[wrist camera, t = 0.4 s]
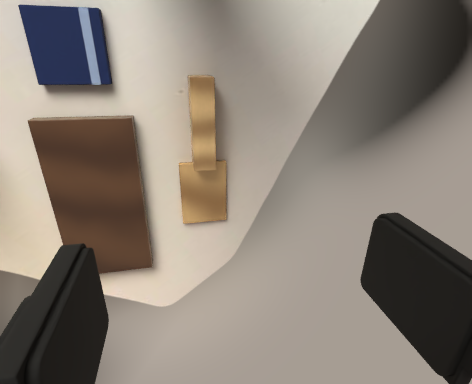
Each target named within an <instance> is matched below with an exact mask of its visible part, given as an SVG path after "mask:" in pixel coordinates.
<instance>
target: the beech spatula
mask: <svg viewBox="0 0 472 384" xmlns="http://www.w3.org/2000/svg"><path fill="white" fill-rule="evenodd" d="M188 90H189V108H190V127H191V145H192V162H189V163H179V173H180V186H181V199H182V213H183V223H184V224H186V223H196V222H207V221H217V220H226V161H216V137H215V83H214V77H212V76H210V75H188Z"/></svg>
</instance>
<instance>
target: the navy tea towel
mask: <svg viewBox="0 0 472 384" xmlns="http://www.w3.org/2000/svg"><path fill="white" fill-rule="evenodd" d="M18 6H19V10H20V14H21V18H22V22H23V25H24V29H25V33H26V37H27V41H28V45H29V49H30V52H31V56H32V60H33V64H34V68H35V72H36V76H37V80H38V83H39V85H101V84H112V79H111V72H110V66H109V60H108V53H107V47H106V41H105V34H104V28H103V22H102V16H101V10H100V9H99V8H87V7H60V6H36V5H18Z"/></svg>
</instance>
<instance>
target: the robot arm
mask: <svg viewBox="0 0 472 384" xmlns="http://www.w3.org/2000/svg"><path fill="white" fill-rule="evenodd" d="M361 285H362V287H363V289H364V290H365V291H366V293H367V294H368V295H369V296H370V297H371V298H372V299H373V301H374V302H375V303H376V304H377V305H378V306H379V308H380V309H381V310H382V311H383V312H384V313H385V314H386V316H387V317H388V318H389V319H390V320H391V321H392V323H393V324H394V325H395V326H396V327H397V328H398V329H399V331H400V332H401V333H402V334H403V335H404V336H405V338H406V339H407V340H408V341H409V342H410V343H411V345H412V346H413V347H414V348H415V349H416V350H417V352H418V353H419V354H420V355H421V356H422V357H423V358H424V360H425V361H426V362H427V363H428V364H429V365H430V367H431V368H432V369H433V370H434V371H435V372H436V373H437V374H438V375H440V376H443V378H444V379H445V380H446V381H447V382H448V383H449V384H469V382H470V380H471V378H472V260H470V259H469V258H467V257H466V256H464V255H463V254H461V253H459V252H458V251H457V250H455V249H453V248H452V247H450V246H449V245H447V244H445V243H444V242H443V241H441V240H440V239H438V238H436V237H435V236H433V235H431V234H430V233H428V232H427V231H426V230H424V229H422V228H421V227H419V226H418V225H416V224H415V223H413V222H412V221H410V220H409V219H407V218H405V217H404V216H402V215H401V214H399V213H387V214H381V215H379V216H378V217H377V219H375V221H374V223H373V227H372V232H371V236H370V240H369V245H368V249H367V253H366V257H365V262H364V266H363V271H362V275H361ZM108 322H109V319H108V313H107V308H106V303H105V299H104V294H103V290H102V285H101V281H100V276H99V272H98V268H97V263H96V259H95V254H94V250H93V248H87V247H86V245H85V244H84V243H81V244H71V245H63V246H61V247H60V249H59V250H58V252H57V254H56V255H55V257H54V259H53V260H52V262H51V264H50V265H49V267H48V269H47V270H46V272H45V274H44V275H43V277H42V278H41V280H40V282H39V283H38V285H37V287H36V288H35V290H34V292H33V293H32V295H31V296H28V297H27V298H25V299H24V300H23V302H22V303H21V304H20V306H19V307H18V309H17V311H16V312H15V314H14V316H13V317H12V319H11V320H10V322H9V323H8V325H7V327H6V328H5V330H4V331H3V333H2V335H1V336H0V384H95V380H96V376H97V372H98V367H99V363H100V359H101V355H102V351H103V347H104V342H105V338H106V334H107V330H108Z"/></svg>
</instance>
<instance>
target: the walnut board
mask: <svg viewBox="0 0 472 384" xmlns="http://www.w3.org/2000/svg"><path fill="white" fill-rule="evenodd" d="M28 124H29V127H30V131H31V134H32V138H33V141H34V145H35V148H36V152H37V155H38V159H39V162H40V166H41V169H42V173H43V176H44V180H45V183H46V186H47V190H48V193H49V197H50V200H51V204H52V207H53V211H54V214H55V218H56V221H57V225H58V228H59V232H60V235H61V239H62V242H63V245H71V244H81V243H84V244H85V245H86V247H87V248H93V250H94V254H95V259H96V263H97V268H98V272H99V273H108V272H116V271H124V270H132V269H141V268H149V267H152V264H153V258H152V251H151V243H150V236H149V229H148V221H147V214H146V207H145V199H144V192H143V184H142V177H141V170H140V162H139V155H138V147H137V140H136V133H135V125H134V118H133V116H94V117H51V118H33V119H30V120H28Z"/></svg>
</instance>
